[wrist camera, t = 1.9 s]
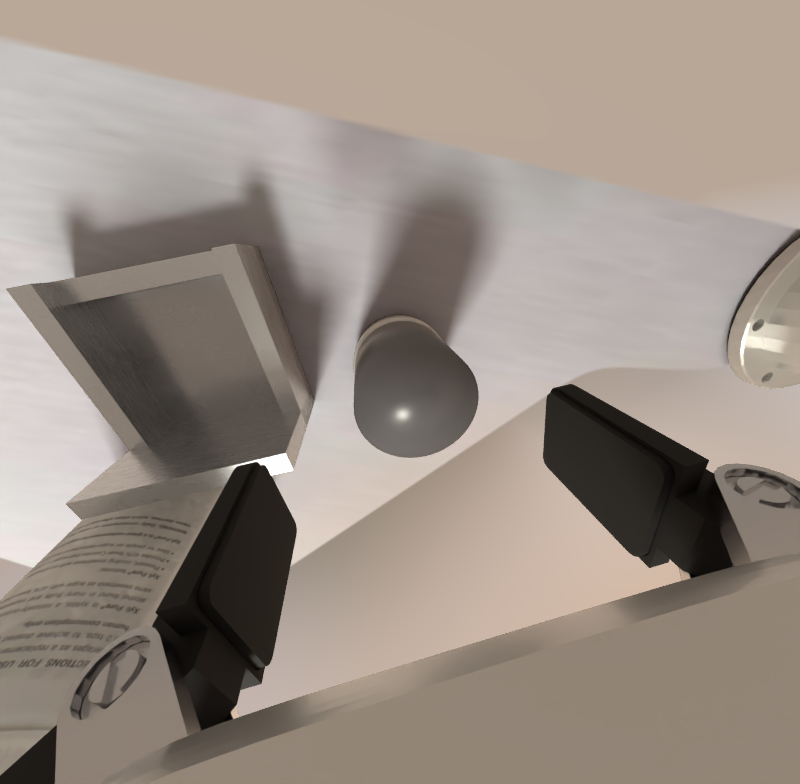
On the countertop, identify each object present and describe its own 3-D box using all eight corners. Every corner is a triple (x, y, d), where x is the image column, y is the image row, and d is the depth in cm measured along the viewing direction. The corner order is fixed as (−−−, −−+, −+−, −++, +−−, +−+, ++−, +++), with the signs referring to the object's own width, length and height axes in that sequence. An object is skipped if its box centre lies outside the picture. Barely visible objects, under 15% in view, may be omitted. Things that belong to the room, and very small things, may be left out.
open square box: (258, 246, 15) (186, 237, 9) (314, 401, 19) (293, 470, 13) (74, 282, 15) (-138, 300, 8) (173, 433, 19) (81, 519, 13)
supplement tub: (98, 503, 21) (-371, 945, 7) (180, 426, 19) (-237, 818, 6) (217, 560, 24) (51, 912, 11) (293, 500, 23) (204, 832, 10)
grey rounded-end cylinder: (434, 304, 18) (476, 329, 11) (444, 386, 20) (483, 443, 14) (343, 323, 17) (334, 359, 11) (365, 404, 20) (368, 470, 14)
